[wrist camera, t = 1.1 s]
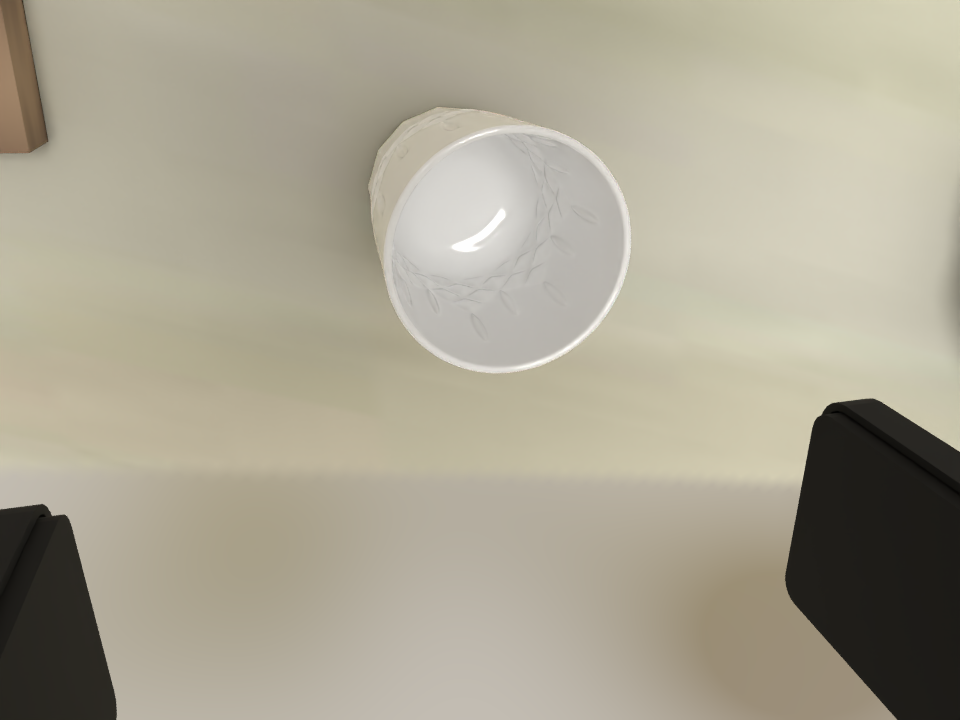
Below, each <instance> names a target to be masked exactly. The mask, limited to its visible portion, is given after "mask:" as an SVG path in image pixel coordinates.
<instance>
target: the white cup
mask: <svg viewBox="0 0 960 720" xmlns="http://www.w3.org/2000/svg"><path fill="white" fill-rule="evenodd" d="M368 190H369V195H370V200H371V220H372V226H373V234H374V238H375V242H376V246H377V250H378V254H379V258H380V262H381V266H382V270H383V274H384V278H385V282H386V287H387V291H388V294H389V297H390V300H391V303H392V305H393V307H394V309H395V312H396V314H397V315H398V317H399V319H400V321H401V322H402V324H403V325H404V327H405V328H406V329H407V331H408V332H409V333H410V334H411V335H412V337H413V338H414V339H415V340H416V341H417V342H418V343H419V344H420V345H422V346H423V347H424V348H425V349H426V350H428V351H429V352H430V353H432V354H433V355H435V356H436V357H438V358H440V359H442V360H444V361H446V362H448V363H450V364H452V365H455V366H457V367H460V368H463V369H467V370H471V371H476V372H483V373H511V372H518V371H524V370H528V369H532V368H535V367H538V366H541V365H543V364H546V363H548V362H551V361H553V360H555V359H557V358H559V357H560V356H562V355H564V354H566V353H567V352H569V351H570V350H572V349H573V348H575V347H576V346H577V345H578V344H580V343H581V342H582V341H583V340H584V339H586V338H587V337H588V336H589V335H590V334H591V333H592V332H593V331H594V330H595V329H596V328H597V326H598V325H599V324H600V323H601V322H602V320H603V319H604V318H605V316H606V315H607V314H608V312H609V311H610V309H611V307H612V306H613V304H614V302H615V300H616V299H617V297H618V294H619V292H620V290H621V288H622V285H623V282H624V280H625V276H626V273H627V269H628V265H629V260H630V252H631V225H630V218H629V213H628V209H627V205H626V202H625V199H624V196H623V194H622V191H621V189H620V187H619V185H618V183H617V181H616V179H615V178H614V176H613V175H612V173H611V172H610V170H609V169H608V168H607V166H606V165H605V164H604V163H603V162H602V161H601V159H600V158H599V157H598V156H597V155H595V154H594V153H593V152H592V151H591V150H590V149H588V148H587V147H586V146H584V145H583V144H582V143H580V142H578V141H577V140H575V139H573V138H571V137H569V136H567V135H565V134H563V133H561V132H558V131H555V130H552V129H548V128H545V127H542V126H538V125H535V124H532V123H528V122H525V121H522V120H519V119H516V118H513V117H509V116H506V115H502V114H498V113H493V112H487V111H482V110H476V109H460V108H447V107H436V108H434V109H431V110H429V111H427V112H424V113H422V114H420V115H417V116H415V117H412V118H410V119H408V120H405V121H403V122H402V123H401V124H400V125H399V127H398V128H397V129H396V130H395V131H394V132H393V133H392V135H391V136H390V137H389V138H388V139H387V140H386V142H385V143H384V144H383V145H382V146H381V147H380V148H379V150H378V152H377V155H376V159H375V163H374V167H373V170H372V174H371V178H370V181H369V185H368Z"/></svg>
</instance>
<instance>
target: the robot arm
mask: <svg viewBox="0 0 960 720" xmlns="http://www.w3.org/2000/svg"><path fill="white" fill-rule="evenodd" d="M785 581H786V587H787V591H788V594H789V595H790V598H791V600H792V601H793V602H794V604H795V605H796V606H797V607H798V608H799V609H800V611H801V612H802V613H803V614H804V615H805V616H806V617H807V619H808V620H810V622H811V623H812V624H813V625H814V626H815V628H816V629H817V630H818V631H819V632H820V633H821V634H822V635H823V636H824V638H825V639H826V640H827V641H828V642H829V643H830V644H831V645H832V646H833V648H834V649H835V650H836V651H837V652H838V653H839V654H840V656H841V657H842V658H843V659H844V660H845V661H846V662H847V663H848V665H849V666H850V667H851V668H852V669H853V670H854V671H855V672H856V674H857V675H858V676H859V677H860V678H861V679H862V680H863V682H864V683H865V684H866V685H867V686H868V687H869V688H870V689H871V691H872V692H873V693H874V694H875V695H876V696H877V697H878V698H879V699H880V701H881V702H882V703H883V704H884V705H885V706H886V707H887V708H888V710H889V711H890V712H891V713H892V714H893V715H894V716H895V717H896V719H897V720H960V452H959V451H957V450H956V449H954V448H953V447H951V446H950V445H948V444H946V443H945V442H943V441H942V440H940V439H939V438H937V437H935V436H934V435H932V434H931V433H929V432H928V431H926V430H924V429H923V428H921V427H920V426H918V425H917V424H915V423H913V422H912V421H910V420H909V419H907V418H905V417H904V416H902V415H901V414H899V413H898V412H896V411H894V410H893V409H891V408H890V407H888V406H887V405H885V404H883V403H882V402H880V401H878V400H876V399H861V400H853V401H845V402H837V403H832V404H830V405H828V406H827V407H826V408H825V410H824V411H823V413H822V415H821V416H819V417H817V419H816V420H815V422H814V425H813V428H812V433H811V439H810V444H809V449H808V455H807V460H806V466H805V471H804V477H803V482H802V487H801V493H800V498H799V504H798V509H797V515H796V520H795V525H794V531H793V537H792V542H791V547H790V553H789V558H788V563H787V569H786V575H785ZM116 711H117V710H116V698H115V694H114V689H113V685H112V681H111V677H110V674H109V670H108V666H107V662H106V658H105V654H104V650H103V646H102V643H101V639H100V635H99V631H98V627H97V623H96V619H95V615H94V612H93V608H92V604H91V600H90V596H89V592H88V589H87V584H86V581H85V577H84V573H83V569H82V565H81V561H80V557H79V553H78V550H77V546H76V542H75V538H74V534H73V530H72V527H71V523H70V521H69V519H68V517H67V516H66V515H57V516H52V515H51V512H50V511H49V510H48V508H47V507H46V506H45V505H43V504H40V505H32V506H25V507H16V508H9V509H1V510H0V720H116V717H117V712H116Z"/></svg>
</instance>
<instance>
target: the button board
mask: <svg viewBox="0 0 960 720" xmlns="http://www.w3.org/2000/svg"><path fill="white" fill-rule="evenodd" d="M46 142H48V138H47V132H46V127H45V121H44V116H43V110H42V105H41V99H40V94H39V89H38V83H37V78H36V72H35V67H34V61H33V56H32V50H31V45H30V39H29V34H28V29H27V23H26V18H25V12H24V7H23V1H22V0H0V153H30V152H31V151H33V150H35V149H36V148H38V147H40V146H41V145H43V144H45V143H46Z"/></svg>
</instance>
